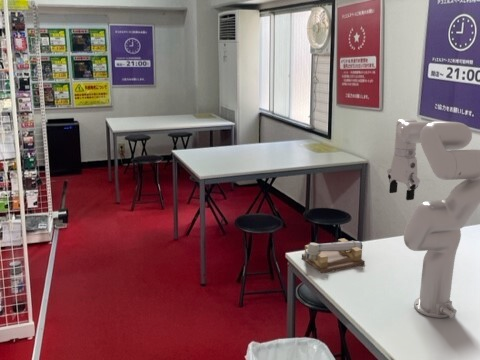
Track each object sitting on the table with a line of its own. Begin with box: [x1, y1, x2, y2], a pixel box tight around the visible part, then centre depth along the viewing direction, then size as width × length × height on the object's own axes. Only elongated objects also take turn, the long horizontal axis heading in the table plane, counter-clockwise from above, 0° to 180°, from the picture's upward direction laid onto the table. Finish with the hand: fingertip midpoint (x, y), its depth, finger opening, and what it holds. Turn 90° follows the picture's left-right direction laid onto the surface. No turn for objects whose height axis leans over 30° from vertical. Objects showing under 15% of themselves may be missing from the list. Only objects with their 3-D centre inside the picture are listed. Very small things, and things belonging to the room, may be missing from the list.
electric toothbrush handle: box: [304, 240, 364, 259], centre depth 208 cm, size 5×7×25 cm
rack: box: [301, 238, 366, 274], centre depth 209 cm, size 16×20×6 cm
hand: (401, 196), depth 194 cm, fingers open, 9 cm apart
